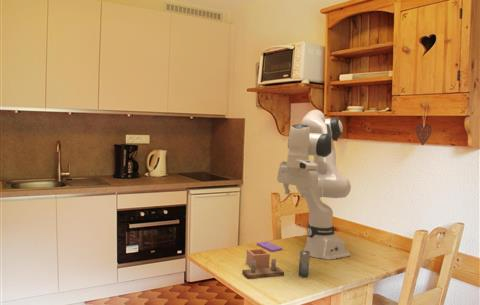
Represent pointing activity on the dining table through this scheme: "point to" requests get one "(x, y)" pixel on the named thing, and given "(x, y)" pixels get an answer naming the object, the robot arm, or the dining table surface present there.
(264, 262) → the socket
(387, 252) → the dining table surface
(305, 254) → the steel pin
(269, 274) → the peg board
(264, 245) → the sponges
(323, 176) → the robot arm
